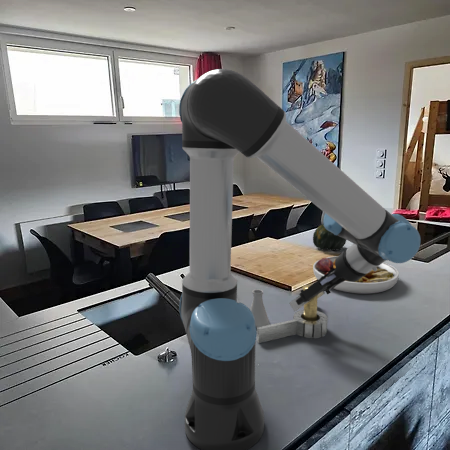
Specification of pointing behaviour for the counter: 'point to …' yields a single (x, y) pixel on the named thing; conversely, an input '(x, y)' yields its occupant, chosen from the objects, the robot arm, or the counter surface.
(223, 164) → the robot arm
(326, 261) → the bowl
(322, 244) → the squash
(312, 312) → the hinge pin
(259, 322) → the flask
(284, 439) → the counter surface
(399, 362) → the counter surface
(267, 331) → the hinge
